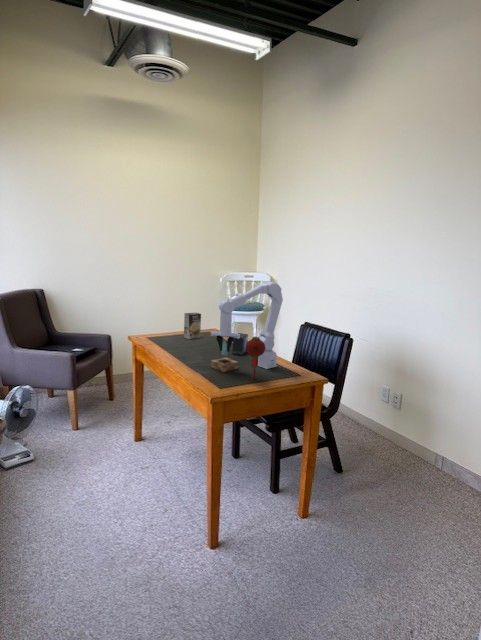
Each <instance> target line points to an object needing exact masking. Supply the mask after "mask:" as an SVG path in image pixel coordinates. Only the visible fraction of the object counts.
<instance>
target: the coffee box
mask: <svg viewBox="0 0 481 640" xmlns="http://www.w3.org/2000/svg"><path fill="white" fill-rule="evenodd" d="M183 319H184V324H183V326H184V327H183V338H185V339H187V340H193V339H200V338H201V331H202V326H201V325H202V314H201V313H199V312H185V313H184V317H183Z"/></svg>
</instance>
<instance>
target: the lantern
mask: <svg viewBox="0 0 481 640" xmlns="http://www.w3.org/2000/svg"><path fill="white" fill-rule="evenodd" d="M255 322H256V326H255V329H256V330H255V334H257V333H258V332H257V330H258V320H256V321H255ZM246 351H247V352H246V353H247V354H248V355H250V357H251V367H252V368H253V369H252V371H253V372H252V379H253V380H255V379H256V374H257V373H256V371H257V370H256V368H257V367H259V366H258V358H259V356H260V355H262V354H263V353H264V351H265V344H264V342H263V341H261V340H260V338H259V336H253V337H251V338H250V339H248V342H247V344H246Z"/></svg>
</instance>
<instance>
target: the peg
mask: <svg viewBox="0 0 481 640" xmlns="http://www.w3.org/2000/svg"><path fill="white" fill-rule="evenodd" d="M227 348H228V341H227V340H223V341H222V351H221V356H225V357H227V356H228V355H229V352H227Z"/></svg>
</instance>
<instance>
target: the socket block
mask: <svg viewBox="0 0 481 640" xmlns="http://www.w3.org/2000/svg"><path fill="white" fill-rule="evenodd" d="M210 368H212V369H215V370H217V371H220V372H222V373H225V372H229V371H233V370H238V369H239V361H236V360H234V359H232V358H229V357H227V356H225V357H222V358H217V359H210Z"/></svg>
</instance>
